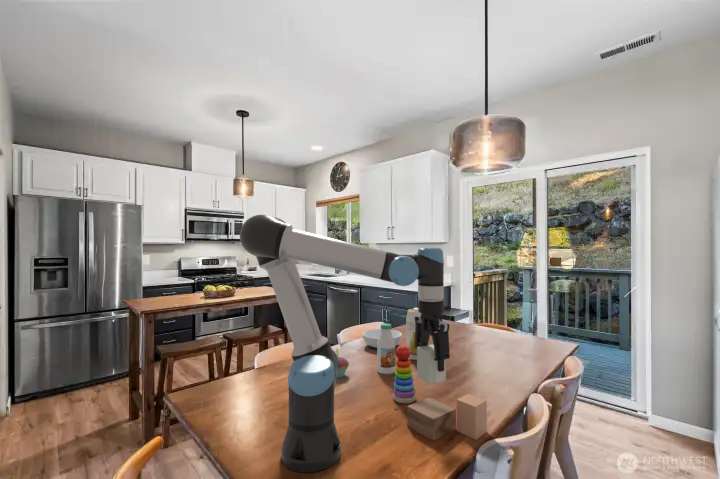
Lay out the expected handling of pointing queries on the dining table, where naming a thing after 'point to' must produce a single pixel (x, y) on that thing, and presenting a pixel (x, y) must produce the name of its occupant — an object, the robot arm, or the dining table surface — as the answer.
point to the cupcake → (342, 365)
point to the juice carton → (411, 332)
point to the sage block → (427, 364)
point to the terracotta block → (472, 416)
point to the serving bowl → (373, 336)
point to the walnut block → (431, 418)
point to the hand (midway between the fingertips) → (431, 377)
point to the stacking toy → (403, 377)
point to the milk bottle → (386, 351)
